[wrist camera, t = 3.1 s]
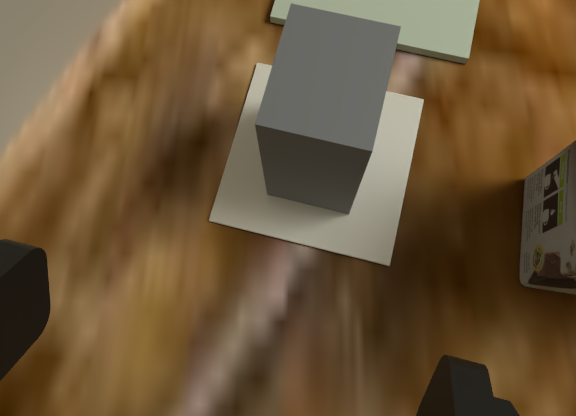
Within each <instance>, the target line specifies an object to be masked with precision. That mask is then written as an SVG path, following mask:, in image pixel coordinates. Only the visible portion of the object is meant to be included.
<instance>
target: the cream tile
mask: <svg viewBox="0 0 576 416" xmlns="http://www.w3.org/2000/svg"><path fill="white" fill-rule="evenodd" d="M271 68H272V66H271V65H266V64H261V63H257V66H256V69H255V72H254V75H253V78H252V82H251V85H250V88H249V91H248V95H247V98H246V101H245V104H244V108H243V111H242V114H241V117H240V121H239V124H238V127H237V130H236V134H235V137H234V140H233V143H232V147H231V150H230V153H229V156H228V160H227V163H226V166H225V169H224V173H223V176H222V179H221V182H220V186H219V189H218V192H217V195H216V199H215V202H214V205H213V208H212V211H211V215H210V218H209V221H210V222H214V223H218V224H222V225H226V226H230V227H234V228H238V229H242V230H246V231H250V232H254V233H258V234H262V235H266V236H270V237H274V238H278V239H282V240H286V241H290V242H294V243H298V244H302V245H306V246H310V247H314V248H318V249H322V250H326V251H330V252H334V253H338V254H342V255H346V256H350V257H354V258H358V259H362V260H366V261H370V262H374V263H378V264H382V265H386V266H390V262H391V257H392V252H393V248H394V243H395V238H396V233H397V228H398V223H399V218H400V214H401V209H402V204H403V199H404V194H405V189H406V184H407V180H408V175H409V170H410V165H411V160H412V155H413V150H414V145H415V141H416V136H417V131H418V126H419V121H420V116H421V111H422V107H423V102H424V99H420V98H415V97H411V96H406V95H402V94H397V93H393V92H388V91H386V94H385V99H384V103H383V108H382V112H381V116H380V121H379V125H378V129H377V134H376V138H375V143H374V147H373V151H372V154H371V157H370V159H369V162H368V165H367V167H366V170H365V173H364V175H363V178H362V181H361V183H360V186H359V189H358V191H357V194H356V197H355V199H354V202H353V205H352V207H351V210H350V213H349V214H345V213H341V212H337V211H333V210H329V209H325V208H321V207H316V206H312V205H308V204H304V203H300V202H296V201H292V200H287V199H283V198H279V197H275V196H271V195H267V191H266V185H265V179H264V174H263V168H262V162H261V157H260V151H259V145H258V140H257V134H256V128H255V122H256V119H257V115H258V112H259V109H260V105H261V102H262V98H263V95H264V92H265V88H266V85H267V82H268V78H269V75H270V72H271Z"/></svg>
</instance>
